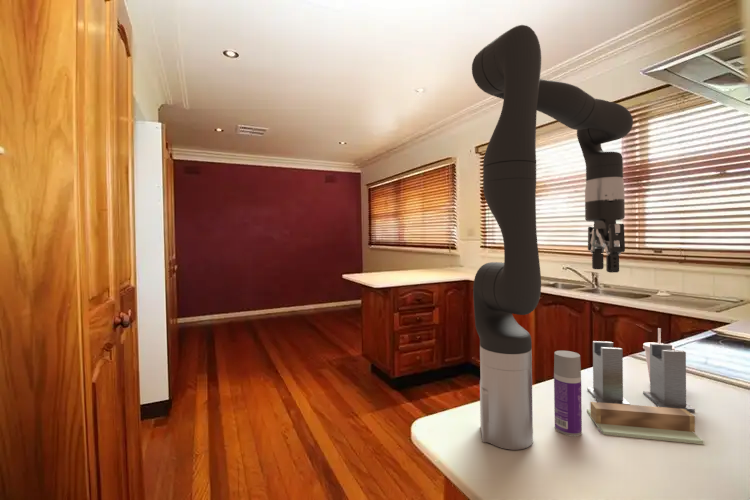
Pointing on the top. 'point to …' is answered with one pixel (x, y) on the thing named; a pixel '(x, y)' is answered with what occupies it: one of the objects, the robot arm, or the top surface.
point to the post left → (607, 373)
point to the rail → (643, 416)
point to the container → (567, 393)
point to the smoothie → (647, 349)
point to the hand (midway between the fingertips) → (604, 270)
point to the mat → (648, 433)
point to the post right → (668, 377)
